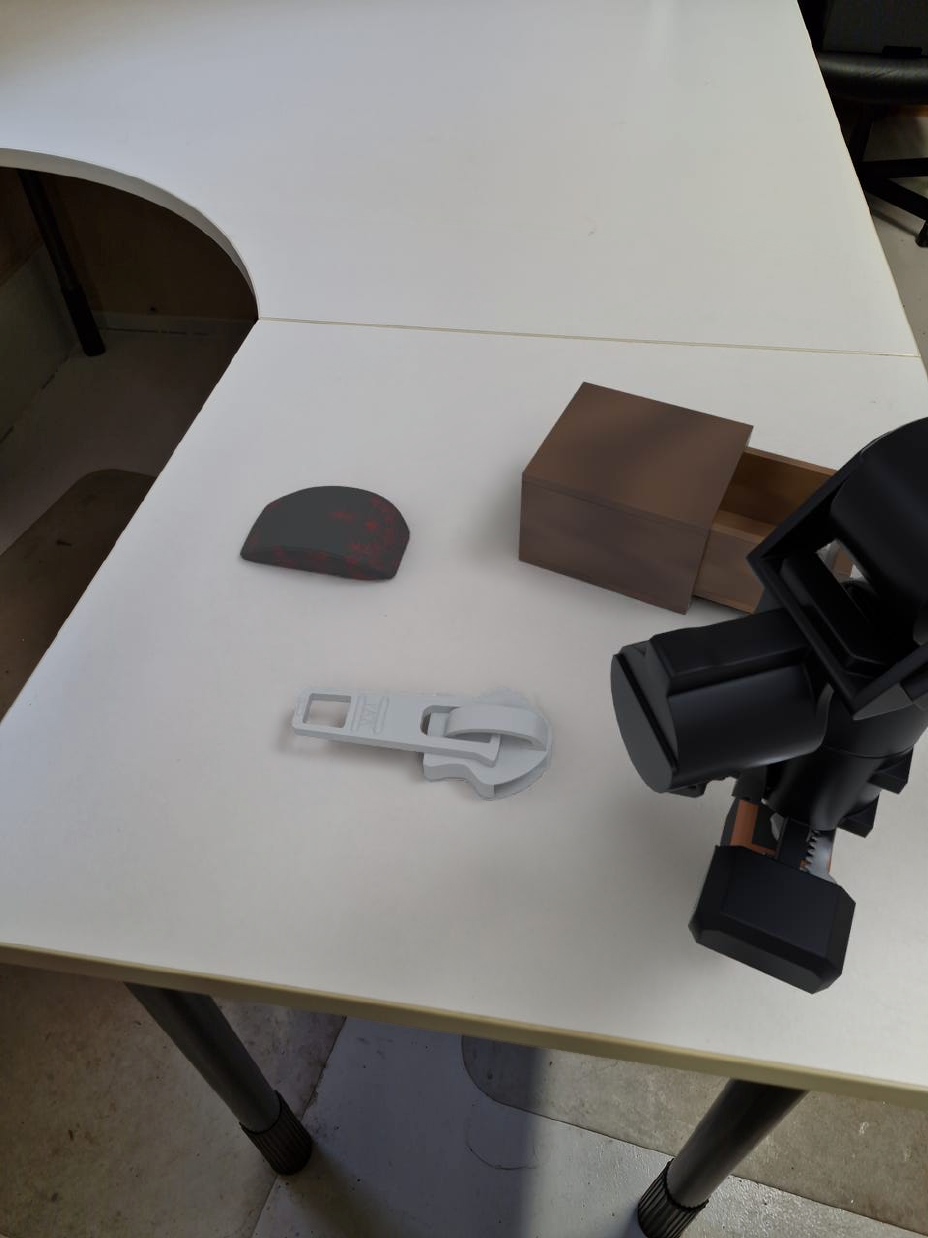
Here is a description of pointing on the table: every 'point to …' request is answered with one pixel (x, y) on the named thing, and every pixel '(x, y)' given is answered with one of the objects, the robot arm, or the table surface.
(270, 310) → the table surface
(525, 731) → the zipper pull
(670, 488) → the cabinet
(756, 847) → the battery
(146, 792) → the table surface
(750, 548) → the drawer
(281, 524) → the dark grey half-round block
